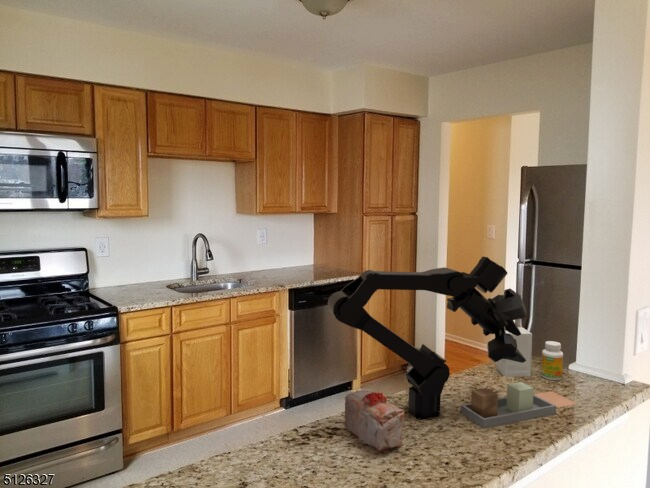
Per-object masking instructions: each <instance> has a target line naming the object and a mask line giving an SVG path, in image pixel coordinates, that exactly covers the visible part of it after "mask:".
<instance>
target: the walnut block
mask: <svg viewBox="0 0 650 488" xmlns="http://www.w3.org/2000/svg"><path fill="white" fill-rule="evenodd" d="M470 395H471V399H470V400H471V402H470V403H471V410H472V411H474V412H475V413H477V414H478V415H480V416H482V417H483V418H488V417H493V416H497V407H498V398H499V394H498V393H497V392H495V391H493V390H490V388H488V387H484V388H483V387H482V388H477V389H471V394H470Z"/></svg>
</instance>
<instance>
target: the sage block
mask: <svg viewBox="0 0 650 488" xmlns="http://www.w3.org/2000/svg"><path fill="white" fill-rule="evenodd" d="M534 391H535V390H534V387H532V386H531V385H528V384H526V383H523V382H522V381H520V382H513V383H507V388H506V397H507V408H506V409H507V410H509V411H511V412H512V413H514V412H520V411H525V410H530V409H533V394H534Z"/></svg>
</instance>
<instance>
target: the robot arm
mask: <svg viewBox="0 0 650 488" xmlns="http://www.w3.org/2000/svg"><path fill="white" fill-rule="evenodd" d="M507 275H508V271H507V270H506V269H505V268H504V267H503V265H499V264H498V263H497V262H496V261H493V260H491V259H490V258H489V257H487V256H483V255H482V257H480V259H479V261H478V262H477V263H476V265H475V266H474V267H473V268H472V270H470V272H469V273H468V272H465V271H458V270H455V269H452V268H449V267H445V266H444V267H437V268H431V269H429V270H425V271H421V272H420V271H418V272H417V271H387V270H386V271H385V270H384V271H383V270H372V269H366V270H364V271H363V272H362V273H361V274H360V275H359V276H358V277H357V278H355V279H354V280H352V281H351V282H349V283H348V284H346V285H345V286H344V287H343V288H342V289H341V290H338V291H336V292H334V293H332V294H331V295H330V296H329V298H328V300H327V309H328V311H329V312H330V314H332V316H333V317H334V318H335V319H336V320H337V321H338V322H340V323H342V324H344V325H346V326H349V327H351V328H353V329H356V330H359V331H362V332H364V333H365V334H366V335H368V336H369V337H371V338H373V339H374V340H375V341H377V342H378V343H380V344H381V345H382V346H384V347H385V348H387V349H388V350H389V351H391V352H392V353H394V354H396V355H397V356H399V358H401V359H403V360H404V361H405V362H407V363H408V364H409V365H410V366H411V367H412V368H410V370H409V371H408V372H407V373H406V374H405V378H406V380H407V381H406V382H407V383H408V384H410V385H411V386H410V387H408V407H406V408H404V411H406V412H407V413H409V414H410V416H411V415H412V416H413V417H414V418H415V419H417V420H418V421H423V420H428V419H435V418H439V417H443V414H442V413H441V400H442V399H441V395H442V393H443V389H444V387H445V385H446V383H447V381H449V378H450V367H449V366H448V365H447V364H446V362H447V360H446V359H445V358H444V357H442V356H441V355H439V354H438V353H437V352H436V351H434V350H432V349H431V348H429V347H428V346H426V344H424V343H422V344H421V346H420V347H416V346H413V345H412V344H411V343H409V342H408V341H407V340H405V339H404V338H402V337H401V336H400V335H398V334H397V333H395V332H394V331H392V330H391V329H390V328H388V327H387V326H385V325H384V324H383V323H381V322H380V321H378V320H377V319H376V318H374V317H373V316H371V315H370V313H369V312H368V311H367V310H366V308H364V307H365V306H366V305H367V304H368V302H369V301H370V299H371V298H372V297H373V295H374V294H375V293H376V292H377V291H378V290H388V291H389V290H392V291H395V290H396V291H397V290H398V291H426V292H432V293H435V294H439V295H443V296H448V297H449V298H447V299H446V301H447V302H446V309H447V310H450V311H452V313H453V312H454V313H455V312H457V311H458V309H460V310H461V311H462V312H463V313H464V314H466V315H467V316H468V317H469V318H470V321H471V322H470V323H471V324H472V325H473V326H476V325H478V326H479V327H480V328H481V329H482V334H483V336H485V337H488V336H489V335H494V338H493V339H491V340H490V341H488V342H487V345H486V347H487V357H488V358H489V359H490V360H491V361H493V363H497V361H499V360H501V359H507V360H512V361H516V362H521V363H523V362H525V361H526V359H525V358H524V356H523V355H522V354H521V353H520V351H519V350H518V349H517V342H516V339H514V338H513V336H512V335H511V334H508V333H506V331H508V332H510V333H512V334H514V335H516V336H519V335H521V332H520V330H519V329H518V327H519V326H517V324H516V322H515V320H522V319H525V318H526V317H527V315H528V314H527V311H526V306H525V304H524V301H523V299H522V296H521V294H519V293H517V292H516V291H514V289H512V288H507V289H504V290H503V294H497V295H496V296H494V297H492V298H491V297H489V298H486V297H485V296H484V295H483V294H487V293H490V294H491V293H493V292H494V291H495V290H496V289H497V287H498V286H499V285H500V283H501V282H502V281H503V280H504V279H505V278H506V276H507ZM482 293H483V294H482Z"/></svg>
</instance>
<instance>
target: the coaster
mask: <svg viewBox="0 0 650 488" xmlns="http://www.w3.org/2000/svg"><path fill="white" fill-rule="evenodd" d="M533 394H534V393H533ZM534 395H536V396H538V397H540V398H542V399H544V400H546V401H548V402H550V403H552V404H554V405H556V409H557V408H562V407H567V406H573V405H577V404H578V403H577V402H575V401H573V400H570V398H566V397H565V396H562V395H560V394H558V393H556V392H554V391H545V392H541V393H535V394H534Z"/></svg>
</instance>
